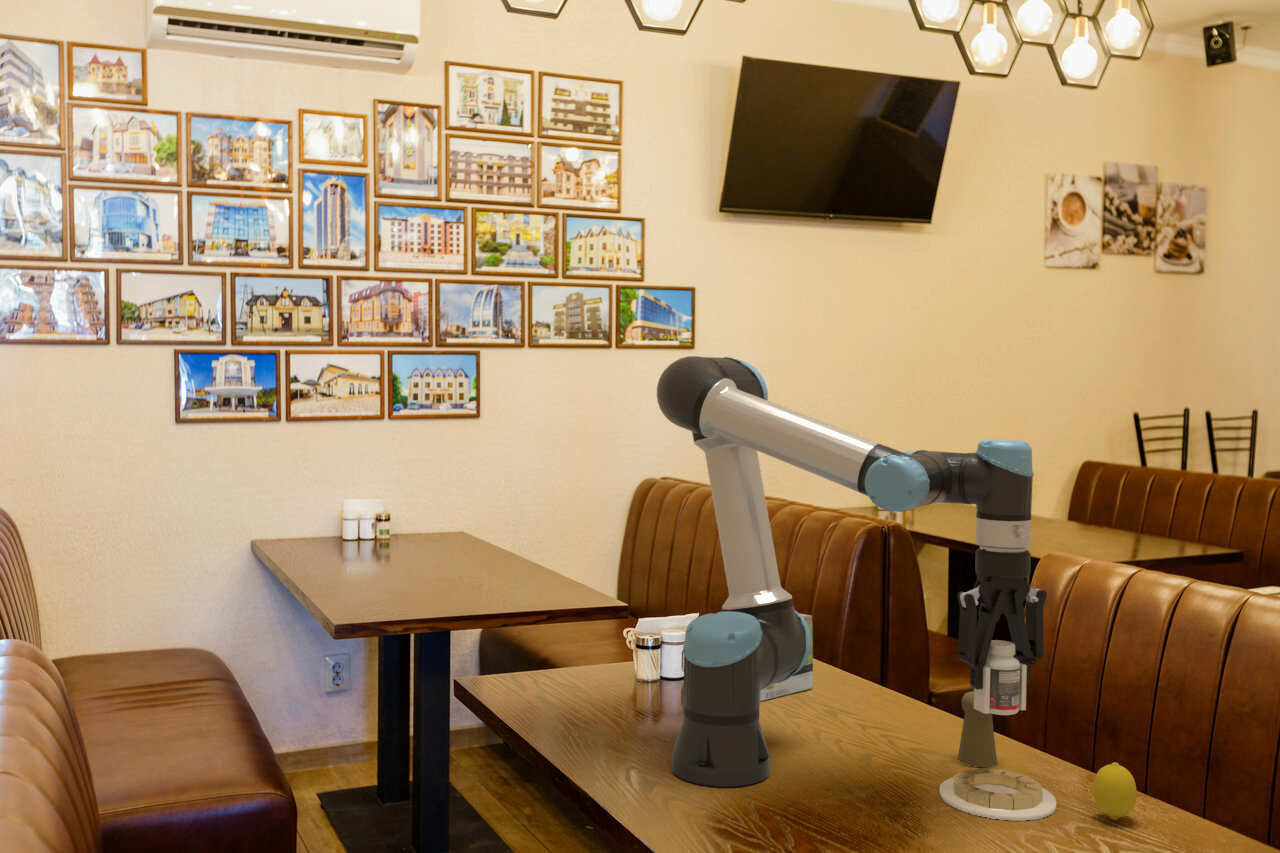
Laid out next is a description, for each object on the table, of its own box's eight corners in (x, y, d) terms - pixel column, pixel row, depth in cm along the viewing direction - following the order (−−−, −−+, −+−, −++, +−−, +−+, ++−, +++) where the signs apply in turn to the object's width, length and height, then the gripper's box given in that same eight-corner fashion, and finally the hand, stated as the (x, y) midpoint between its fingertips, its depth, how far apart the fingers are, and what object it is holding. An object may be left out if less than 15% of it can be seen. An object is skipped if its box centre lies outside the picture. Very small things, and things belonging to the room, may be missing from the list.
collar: (986, 813, 153) (986, 802, 153) (937, 783, 164) (937, 772, 164) (1059, 804, 156) (1059, 793, 156) (1007, 776, 168) (1007, 765, 168)
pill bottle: (972, 706, 162) (973, 639, 161) (1005, 704, 163) (1006, 638, 163) (993, 717, 157) (994, 648, 156) (1026, 714, 158) (1028, 646, 158)
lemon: (1085, 819, 153) (1087, 762, 153) (1102, 809, 157) (1103, 753, 157) (1126, 831, 149) (1127, 772, 149) (1142, 820, 153) (1144, 763, 153)
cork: (966, 752, 181) (968, 685, 181) (1003, 761, 177) (1004, 692, 177) (951, 762, 176) (952, 693, 176) (988, 770, 172) (990, 700, 172)
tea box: (776, 679, 226) (777, 606, 225) (814, 690, 218) (815, 614, 217) (722, 691, 216) (724, 615, 215) (760, 703, 208) (761, 624, 208)
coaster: (982, 826, 150) (982, 820, 150) (918, 785, 165) (918, 780, 165) (1081, 814, 155) (1081, 808, 155) (1009, 775, 170) (1010, 770, 170)
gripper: (962, 554, 153) (959, 721, 153) (1074, 549, 158) (1070, 711, 159) (932, 546, 160) (929, 706, 161) (1040, 542, 165) (1037, 697, 166)
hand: (999, 708), depth 160 cm, fingers closed on pill bottle, 5 cm apart
